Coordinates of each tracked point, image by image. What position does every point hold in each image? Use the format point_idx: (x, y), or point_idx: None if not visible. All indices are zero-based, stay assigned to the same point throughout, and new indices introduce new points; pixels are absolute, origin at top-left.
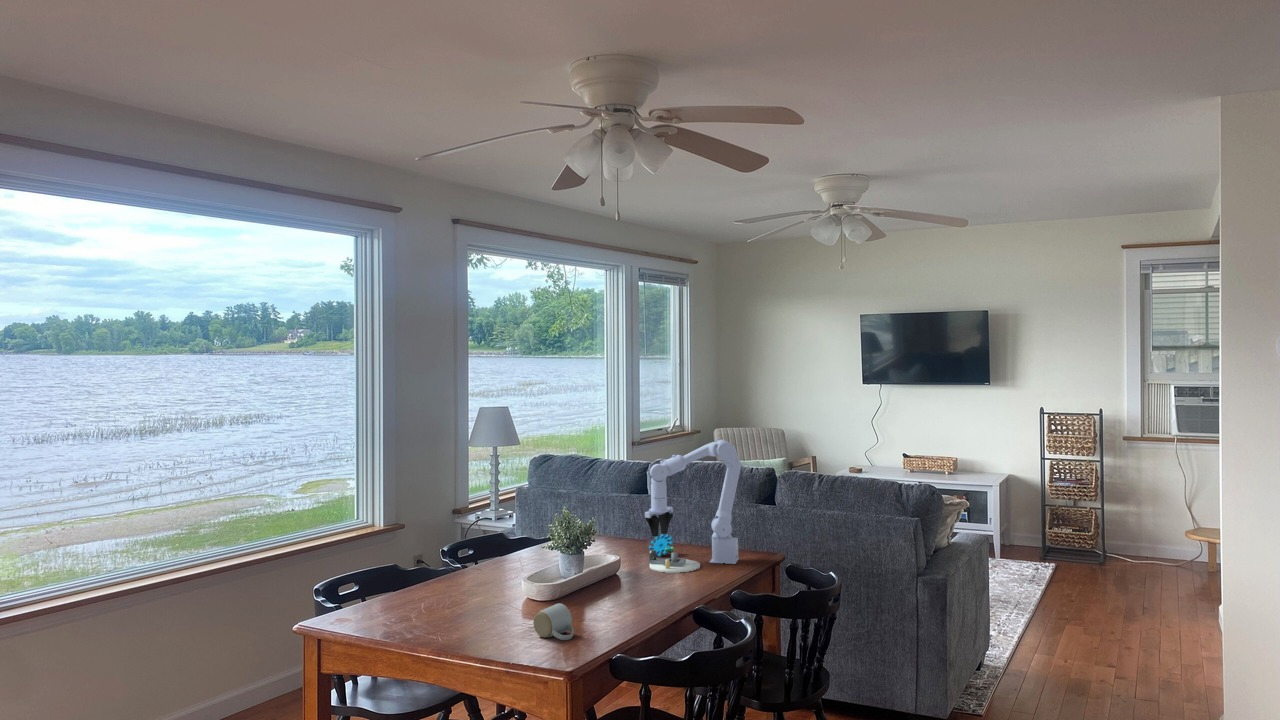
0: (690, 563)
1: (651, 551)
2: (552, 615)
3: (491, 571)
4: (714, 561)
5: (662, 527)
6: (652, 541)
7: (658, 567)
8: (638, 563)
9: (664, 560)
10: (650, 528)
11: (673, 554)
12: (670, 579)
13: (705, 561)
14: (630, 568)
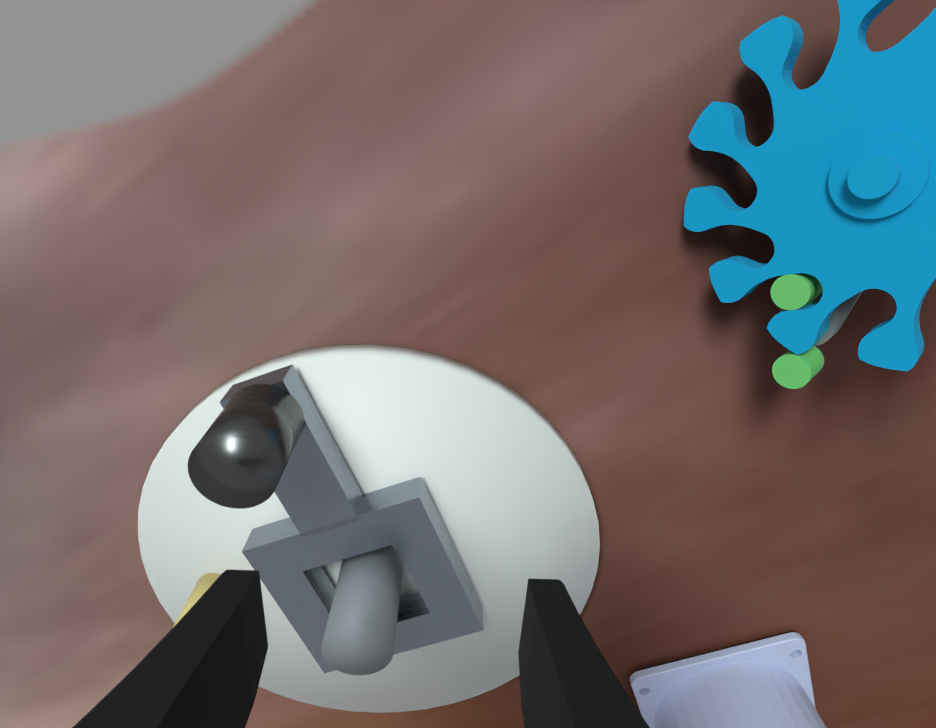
0: (474, 634)
1: (197, 476)
2: None
3: None
4: (656, 698)
5: (548, 705)
6: None
7: (186, 516)
8: (298, 170)
9: (298, 532)
10: (110, 699)
11: (325, 651)
12: (51, 685)
13: (683, 621)
14: (56, 237)
